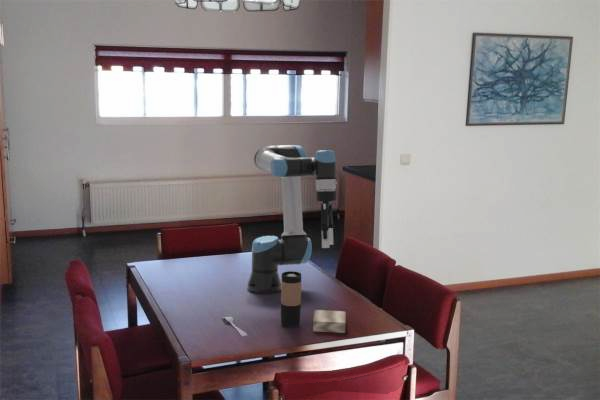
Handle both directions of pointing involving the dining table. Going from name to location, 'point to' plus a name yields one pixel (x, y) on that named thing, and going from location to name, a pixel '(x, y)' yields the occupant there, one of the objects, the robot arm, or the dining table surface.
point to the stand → (329, 321)
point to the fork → (235, 326)
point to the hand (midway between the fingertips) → (327, 246)
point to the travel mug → (290, 299)
